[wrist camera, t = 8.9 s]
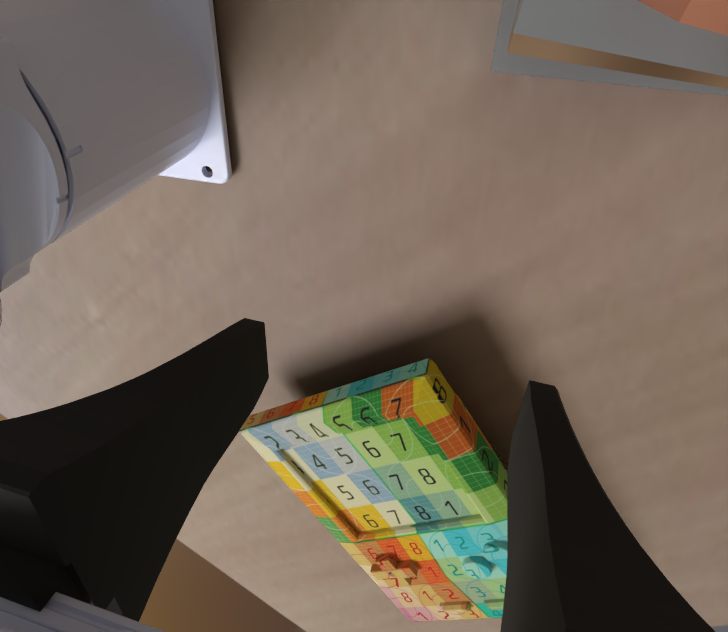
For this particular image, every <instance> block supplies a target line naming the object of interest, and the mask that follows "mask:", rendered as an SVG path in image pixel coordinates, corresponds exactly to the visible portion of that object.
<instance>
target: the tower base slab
mask: <svg viewBox="0 0 728 632" xmlns="http://www.w3.org/2000/svg"><path fill="white" fill-rule="evenodd" d="M518 2H519V0H503V5H502V11H501V16H500V22H499V27H498V33H497V38H496V44H495V49H494V55H493V60H492V66H491V72H501V73H511V74H521V75H530V76H540V77H550V78H560V79H570V80H580V81H590V82H599V83H609V84H619V85H629V86H639V87H649V88H659V89H668V90H678V91H688V92H698V93H708V94H718V95H728V89H727V88H721V87H714V86H708V85H702V84H696V83H690V82H684V81H677V80H671V79H665V78H659V77H653V76H647V75H640V74H634V73H628V72H622V71H616V70H609V69H603V68H597V67H591V66H585V65H579V64H572V63H566V62H560V61H554V60H548V59H542V58H535V57H529V56H523V55H517V54H511V53H508V43H509V39H510V35H511V31H512V27H513V23H514V18H515V14H516V10H517V6H518Z"/></svg>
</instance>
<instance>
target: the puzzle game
mask: <svg viewBox="0 0 728 632" xmlns="http://www.w3.org/2000/svg"><path fill="white" fill-rule="evenodd" d="M239 431H240V433H241V434H242V435H243V436H244V437H245V438H246V440H247V441H248V442H249V443H250V444H251V445H252V446H253V447H254V448H255V450H256V451H257V452H258V453H259V454H260V455H261V456H262V457H263V458H264V459H265V461H266V462H267V463H268V464H269V465H270V466H271V467H272V468H273V469H274V471H275V472H276V473H277V474H278V475H279V476H280V477H281V478H282V479H283V481H284V482H285V483H286V484H287V485H288V486H289V487H290V488H291V489H292V491H293V492H294V493H295V494H296V495H297V496H298V497H299V498H300V499H301V501H302V502H303V503H304V504H305V505H306V506H307V507H308V508H309V509H310V510H311V512H312V513H313V514H314V515H315V516H316V517H317V518H318V519H319V520H320V522H321V523H322V524H323V525H324V526H325V527H326V528H327V529H328V530H329V532H330V533H331V534H332V535H333V536H334V537H335V538H336V539H337V540H338V542H339V543H340V544H341V545H342V546H343V547H344V548H345V549H346V550H347V552H348V553H349V554H350V555H351V556H352V557H353V558H354V559H355V560H356V561H357V563H358V564H359V565H360V566H361V567H362V568H363V569H364V570H365V571H366V573H367V574H368V575H369V576H370V577H371V578H372V579H373V580H374V581H375V583H376V584H377V585H378V586H379V587H380V588H381V589H382V590H383V591H384V593H385V594H386V595H387V596H388V597H389V598H390V599H391V600H392V601H393V603H394V604H395V605H396V606H397V607H398V608H399V609H400V610H401V611H402V612H403V614H404V615H405V616H406V617H407V618H408V619H409V620H410V621H414V622H419V621H440V620H462V619H483V618H502V615H503V605H504V595H505V585H506V574H507V470H506V469H505V467H504V466H503V464H502V463H501V461H500V459H499V458H498V456H497V455H496V453H495V452H494V450H493V449H492V447H491V446H490V444H489V443H488V441H487V439H486V438H485V436H484V435H483V433H482V432H481V430H480V429H479V427H478V426H477V424H476V422H475V421H474V419H473V418H472V416H471V415H470V413H469V412H468V410H467V409H466V407H465V405H464V404H463V402H462V401H461V399H460V398H459V397H458V396H457V395H456V393H455V392H454V391H453V390H452V388H451V387H450V385H449V384H448V382H447V381H446V379H445V378H444V376H443V375H442V373H441V372H440V370H439V369H438V367H437V365H436V363H435V362H433V361H432V360H431V359H430V358H427V359H424V360H421V361H418V362H415V363H412V364H409V365H406V366H403V367H399V368H396V369H393V370H390V371H387V372H384V373H381V374H378V375H375V376H372V377H368V378H365V379H362V380H359V381H356V382H353V383H350V384H347V385H344V386H340V387H337V388H334V389H331V390H328V391H325V392H322V393H319V394H316V395H312V396H309V397H306V398H303V399H300V400H297V401H294V402H291V403H288V404H284V405H281V406H278V407H275V408H272V409H269V410H266V411H263V412H260V413H256V414H253V415H250V416H248V418H247V420H246V421H245V423H244V424H243V426H242V427H241V429H240V430H239Z"/></svg>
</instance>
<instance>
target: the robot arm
mask: <svg viewBox="0 0 728 632" xmlns="http://www.w3.org/2000/svg"><path fill="white" fill-rule="evenodd" d="M206 166H208V167H210V168H211V169H212V172H213V175H212V174H210V173H208V172H207V170H206ZM157 175H161V176H168V177H175V178H182V179H189V180H196V181H204V182H211V183H218V184H223V183H225V182H227V181H228V180H229V179H230V178H231V175H232V170H231V161H230V152H229V143H228V134H227V125H226V116H225V107H224V98H223V89H222V80H221V71H220V62H219V53H218V45H217V36H216V27H215V18H214V9H213V0H0V292H1V291H3V290H4V289H6V288H7V287H9V286H10V285H12V284H13V283H14V282H16V281H17V280H19V279H20V278H22V277H23V276H25V275H26V274H28V273H29V269H30V262H31V259H32V257H33V256H34V255H35V254H36V253H37V252H39V251H40V250H42V249H43V248H45V247H46V246H48V245H49V244H51V243H53V242H55V241H56V240H58V239H59V238H61V237H62V236H64V235H65V234H67V233H68V232H70V231H72V230H73V229H75V228H76V227H78V226H79V225H81V224H82V223H84V222H86V221H87V220H89V219H90V218H92V217H93V216H95V215H96V214H98V213H100V212H101V211H103V210H104V209H106V208H107V207H109V206H110V205H112V204H113V203H115V202H117V201H118V200H120V199H121V198H123V197H124V196H126V195H127V194H129V193H131V192H132V191H134V190H135V189H137V188H138V187H140V186H141V185H143V184H145V183H146V182H148V181H149V180H151V179H152V178H154V177H155V176H157ZM1 321H2V307H1V299H0V325H1ZM268 378H269V374H268V362H267V349H266V337H265V324H264V322H260V321H255V320H251V319H246V318H244V319H242V320H240V321H238V322H237V323H235V324H233V325H231V326H230V327H228V328H226V329H224V330H223V331H221V332H219V333H218V334H216V335H214V336H213V337H211V338H209V339H208V340H206V341H204V342H202V343H201V344H199V345H197V346H196V347H194V348H192V349H190V350H189V351H187V352H185V353H183V354H182V355H180V356H178V357H176V358H174V359H172V360H170V361H168V362H166V363H164V364H162V365H161V366H159V367H157V368H155V369H153V370H151V371H149V372H147V373H145V374H143V375H140V376H138V377H136V378H134V379H132V380H129V381H127V382H125V383H122V384H120V385H117V386H115V387H113V388H110V389H108V390H105V391H102V392H99V393H96V394H94V395H91V396H88V397H85V398H82V399H79V400H77V401H74V402H71V403H68V404H64V405H61V406H58V407H54V408H51V409H48V410H44V411H40V412H36V413H33V414H29V415H25V416H21V417H17V418H12V419H8V420H3V421H0V632H165V631H162V630H159V629H156V628H154V627H151V626H148V625H146V624H143V623H140V622H139V620H140V618H141V615H142V613H143V610H144V608H145V606H146V603H147V601H148V599H149V596H150V594H151V592H152V589H153V587H154V585H155V582H156V580H157V578H158V576H159V574H160V572H161V569H162V567H163V565H164V563H165V561H166V558H167V556H168V554H169V552H170V550H171V548H172V546H173V544H174V542H175V540H176V538H177V536H178V534H179V532H180V530H181V528H182V526H183V524H184V522H185V520H186V518H187V516H188V514H189V512H190V510H191V508H192V506H193V504H194V502H195V500H196V498H197V496H198V495H199V493H200V491H201V489H202V487H203V485H204V483H205V482H206V480H207V478H208V477H209V475H210V474H211V472H212V470H213V469H214V467H215V466H216V464H217V463H218V461H219V460H220V458H221V457H222V455H223V454H224V452H225V451H226V449H227V448H228V446H229V445H230V443H231V442H232V441H233V439H234V438H235V436H236V435H237V433H238V432H239V430H240V429H241V427H242V426H243V424H244V423H245V421H246V420H247V418H248V416H249V415H250V413H251V412H252V410H253V409H254V407H255V405H256V403H257V401H258V399H259V397H260V395H261V393H262V391H263V389H264V387H265V385H266V382H267V380H268ZM501 632H715V631H714V630H713V629H712V628H711V627H710V626H709V625H708V624H707V623H706V622H705V621H704V620H703V619H702V618H701V617H700V616H699V615H698V614H697V612H696V611H695V610H694V609H693V608H692V607H691V606H690V605H689V604H688V602H687V601H686V600H685V599H684V598H683V597H682V596H681V595H680V593H679V592H678V591H677V590H676V589H675V588H674V587H673V586H672V584H671V583H670V582H669V581H668V580H667V578H666V577H665V576H664V575H663V573H662V572H661V571H660V570H659V568H658V567H657V566H656V565H655V563H654V562H653V561H652V560H651V558H650V557H649V556H648V555H647V553H646V552H645V551H644V549H643V548H642V547H641V546H640V544H639V543H638V541H637V540H636V539H635V537H634V536H633V534H632V533H631V532H630V530H629V529H628V527H627V526H626V525H625V523H624V521H623V520H622V518H621V517H620V515H619V514H618V512H617V511H616V509H615V508H614V506H613V505H612V503H611V501H610V500H609V498H608V497H607V495H606V493H605V491H604V490H603V488H602V486H601V485H600V483H599V481H598V479H597V477H596V476H595V474H594V472H593V470H592V468H591V466H590V464H589V462H588V461H587V459H586V457H585V454H584V452H583V450H582V448H581V446H580V444H579V442H578V440H577V438H576V436H575V433H574V431H573V429H572V427H571V424H570V422H569V419H568V417H567V415H566V412H565V409H564V407H563V404H562V401H561V399H560V396H559V393H558V390H557V389H556V387H555V386H552V385H548V384H543V383H539V382H534V381H530V380H529V383H528V386H527V389H526V393H525V396H524V399H523V402H522V405H521V409H520V412H519V415H518V418H517V421H516V424H515V428H514V431H513V434H512V438H511V446H510V454H509V463H508V472H507V574H506V585H505V595H504V605H503V615H502V624H501Z"/></svg>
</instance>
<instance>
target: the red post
mask: <svg viewBox="0 0 728 632" xmlns="http://www.w3.org/2000/svg"><path fill="white" fill-rule="evenodd" d="M637 1H639V2H641V3H643V4H645V5H647V6H649V7H651V8H653V9H655V10H657V11H659V12H660V13H662V14H664V15H666V16H668V17H670V18H672V19H674V20H676V21H678V22H680V23H684V24H687V25H691V26H694V27H698V28H702V29H705V30H709V31H712V32H716V33H719V34H723V35H726V36H728V0H637Z"/></svg>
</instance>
